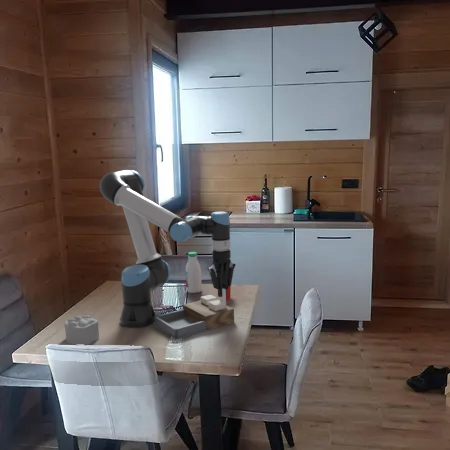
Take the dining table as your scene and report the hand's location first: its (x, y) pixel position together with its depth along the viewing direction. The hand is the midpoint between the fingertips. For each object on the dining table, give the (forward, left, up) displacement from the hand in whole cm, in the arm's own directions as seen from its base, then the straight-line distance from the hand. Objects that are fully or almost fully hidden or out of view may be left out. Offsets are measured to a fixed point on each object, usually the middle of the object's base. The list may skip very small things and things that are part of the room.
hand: (222, 303), depth 209 cm
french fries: (+16, +22, -7) cm, 28 cm away
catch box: (-19, +4, -7) cm, 21 cm away
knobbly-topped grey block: (-55, +19, -8) cm, 59 cm away
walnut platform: (-5, +4, -7) cm, 10 cm away
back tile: (-2, +8, -1) cm, 8 cm away
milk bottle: (+11, +42, -7) cm, 44 cm away
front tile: (-3, 0, -1) cm, 3 cm away
